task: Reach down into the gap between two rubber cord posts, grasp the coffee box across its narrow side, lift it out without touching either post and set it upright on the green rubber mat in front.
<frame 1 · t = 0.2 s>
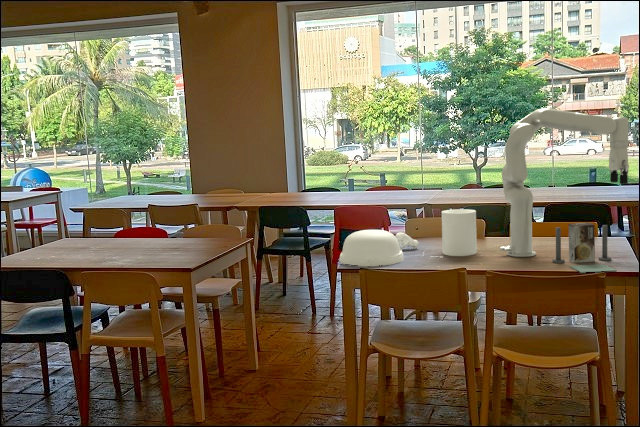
hand: (618, 182, 310), 31 cm above the table, tool pointing down, fingers open, 9 cm apart
canister: (459, 253, 326), on the table
coffee box: (581, 261, 294), on the table
far cord post: (604, 259, 294), on the table
dome cover: (371, 260, 320), on the table
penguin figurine: (407, 249, 342), on the table
near cord post: (558, 262, 294), on the table
green mat: (592, 269, 277), on the table
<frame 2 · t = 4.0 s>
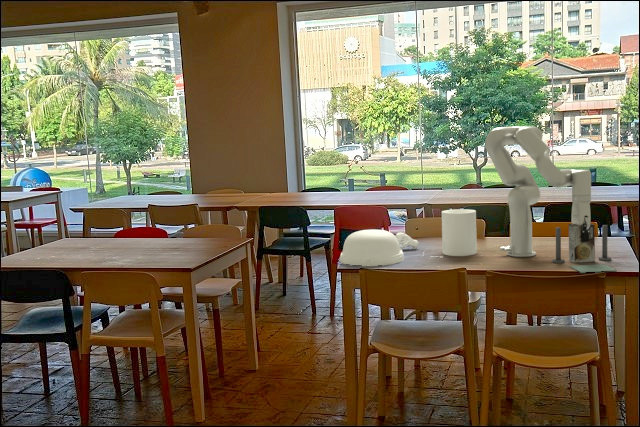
hand: (581, 239, 293), 9 cm above the table, tool pointing down, fingers closed on coffee box, 6 cm apart
coffee box: (581, 261, 294), on the table, touching gripper
everything else where it was.
when the fingers open (11 cm above the table, at t = 11.8 s): coffee box drops 1 cm, resting on green mat.
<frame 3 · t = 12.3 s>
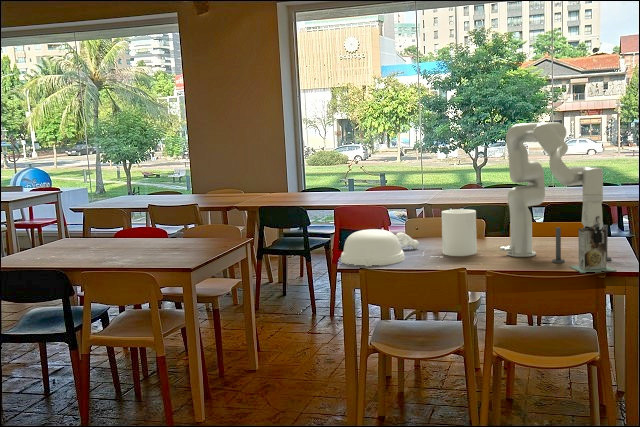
hand: (592, 240, 276), 12 cm above the table, tool pointing down, fingers open, 9 cm apart
coffee box: (592, 268, 277), resting on green mat
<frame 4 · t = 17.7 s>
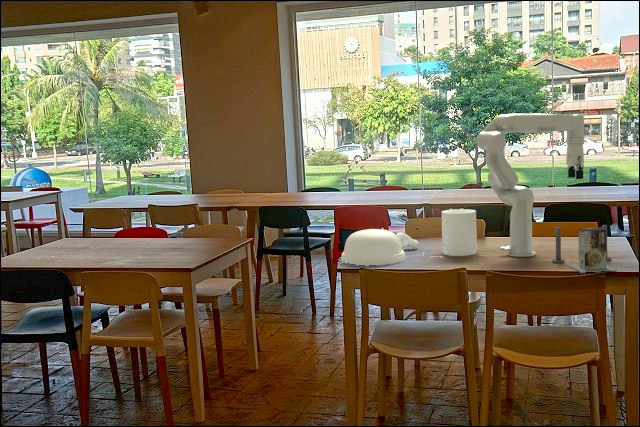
hand: (575, 178, 318), 33 cm above the table, tool pointing down, fingers open, 9 cm apart
at the end: coffee box inside the target area on the green mat (0.2 cm from its centre), point 0.3 cm above the green mat's base; near cord post moved 0.0 cm from its start; far cord post moved 0.0 cm from its start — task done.
